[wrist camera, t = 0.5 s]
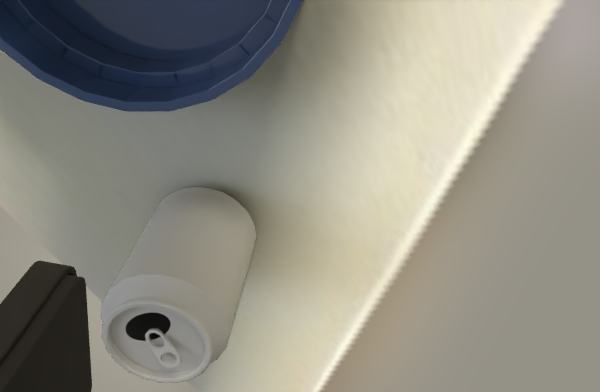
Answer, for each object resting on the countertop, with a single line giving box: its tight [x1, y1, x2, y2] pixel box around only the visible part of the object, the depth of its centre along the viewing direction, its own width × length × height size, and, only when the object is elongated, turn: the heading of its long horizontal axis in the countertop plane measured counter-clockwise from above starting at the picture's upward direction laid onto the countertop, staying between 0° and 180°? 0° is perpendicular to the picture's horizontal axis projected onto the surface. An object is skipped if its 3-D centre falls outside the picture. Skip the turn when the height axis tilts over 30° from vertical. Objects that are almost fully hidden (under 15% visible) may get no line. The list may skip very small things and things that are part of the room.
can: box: [101, 187, 256, 383], centre depth 36 cm, size 8×8×12 cm
